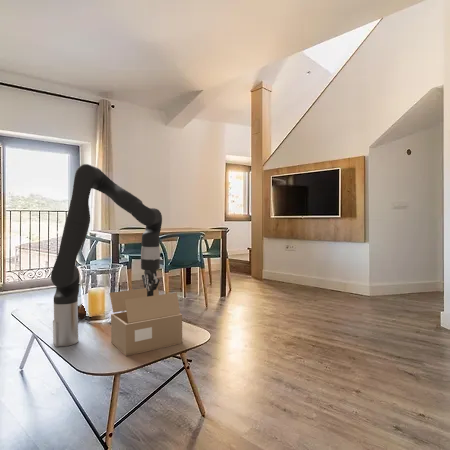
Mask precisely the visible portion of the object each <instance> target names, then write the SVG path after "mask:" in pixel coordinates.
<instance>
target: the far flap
mask: <svg viewBox="0 0 450 450" xmlns="http://www.w3.org/2000/svg"><path fill="white" fill-rule="evenodd" d="M155 295H160V292H159V288H158V286H157V289H156V290H154V291H153V296H155ZM109 297H110V302H111V307H112V308H111V309H112V310H113V313H114V312H121V311H125V312H127V311H126V303H125V300H127V299H134V298H141V297H147V290H146V288H145V287H144V288H137V289H129V290H122V291H121V290H120V291H113V292H109Z"/></svg>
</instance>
